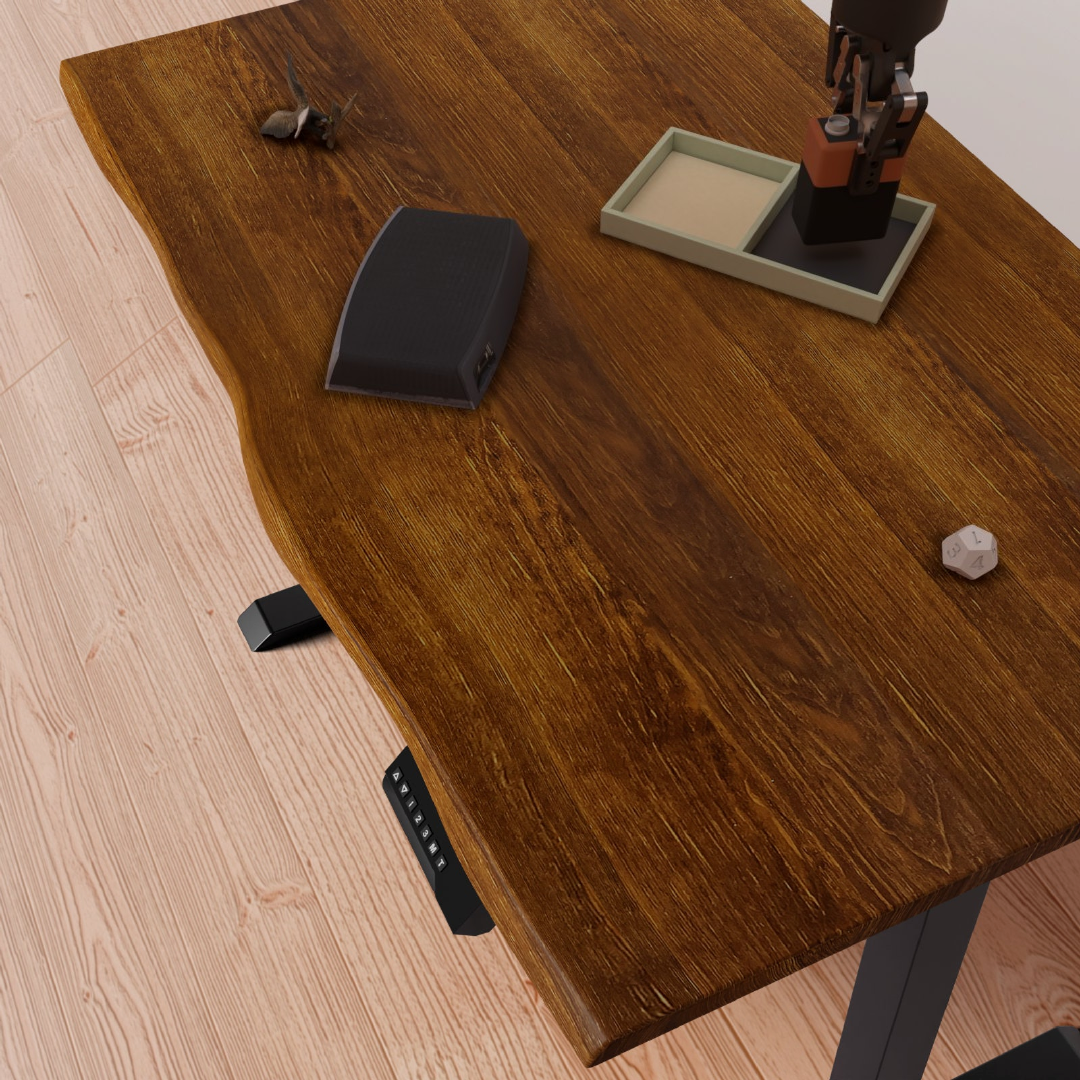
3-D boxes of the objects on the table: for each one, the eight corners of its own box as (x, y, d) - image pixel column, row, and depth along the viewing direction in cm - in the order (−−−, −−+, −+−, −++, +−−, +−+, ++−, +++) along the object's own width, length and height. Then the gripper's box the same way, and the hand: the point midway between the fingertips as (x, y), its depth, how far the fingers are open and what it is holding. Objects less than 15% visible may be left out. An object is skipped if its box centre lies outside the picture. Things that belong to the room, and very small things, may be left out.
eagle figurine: (375, 114, 107) (302, 67, 109) (346, 77, 100) (268, 28, 102) (328, 183, 108) (256, 135, 110) (296, 151, 101) (220, 101, 103)
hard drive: (315, 393, 87) (305, 353, 84) (387, 232, 98) (381, 191, 95) (485, 417, 85) (482, 377, 82) (538, 250, 97) (538, 209, 93)
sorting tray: (928, 232, 98) (937, 204, 95) (874, 329, 90) (882, 301, 88) (668, 153, 105) (671, 125, 103) (599, 237, 98) (600, 210, 95)
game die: (983, 543, 77) (997, 515, 75) (997, 589, 75) (1011, 561, 73) (930, 544, 77) (942, 516, 75) (942, 589, 75) (955, 562, 73)
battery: (886, 241, 92) (916, 129, 85) (802, 249, 92) (825, 137, 84) (870, 207, 95) (898, 96, 87) (788, 215, 95) (809, 104, 87)
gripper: (999, -4, 72) (930, 224, 85) (918, -107, 81) (866, 115, 94) (883, 7, 71) (831, 235, 85) (813, -98, 80) (776, 124, 93)
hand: (850, 171), depth 89 cm, fingers closed on battery, 4 cm apart
